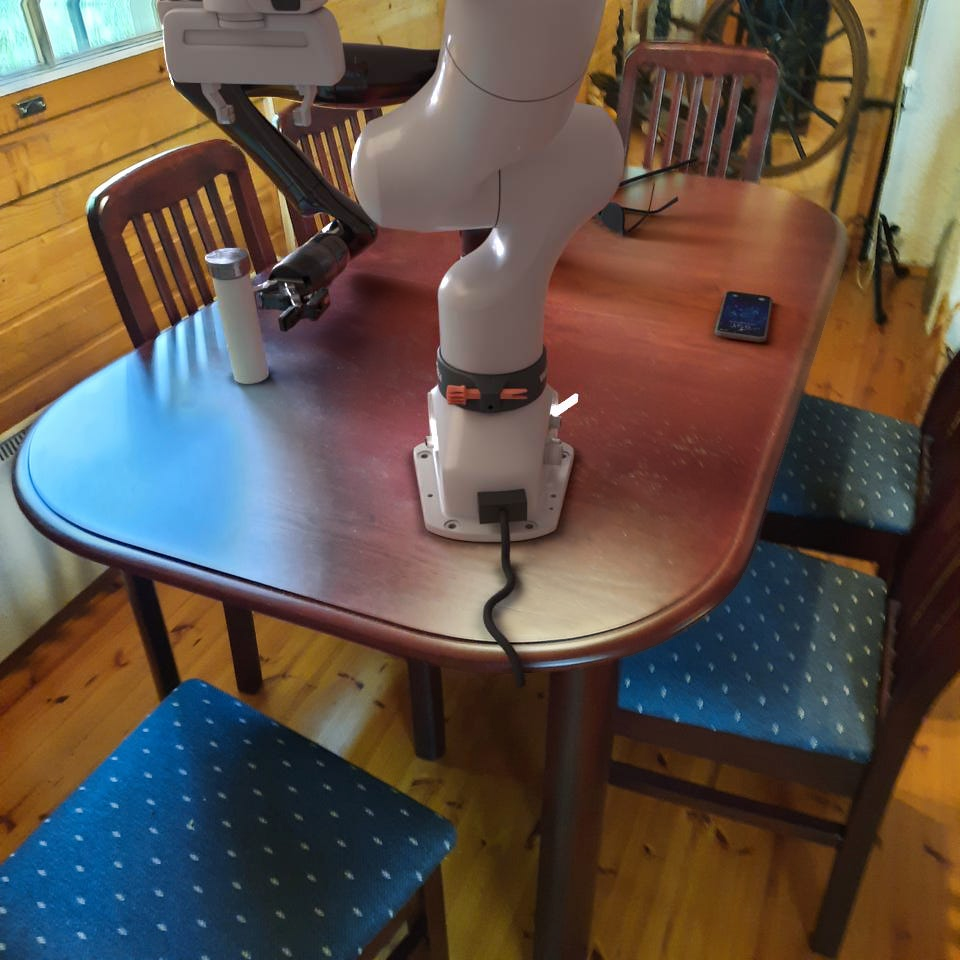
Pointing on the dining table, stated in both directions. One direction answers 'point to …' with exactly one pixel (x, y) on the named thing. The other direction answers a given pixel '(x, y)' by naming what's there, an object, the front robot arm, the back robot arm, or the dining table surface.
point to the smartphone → (744, 316)
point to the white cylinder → (241, 328)
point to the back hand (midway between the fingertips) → (253, 322)
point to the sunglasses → (616, 216)
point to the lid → (228, 263)
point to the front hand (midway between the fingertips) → (265, 124)
